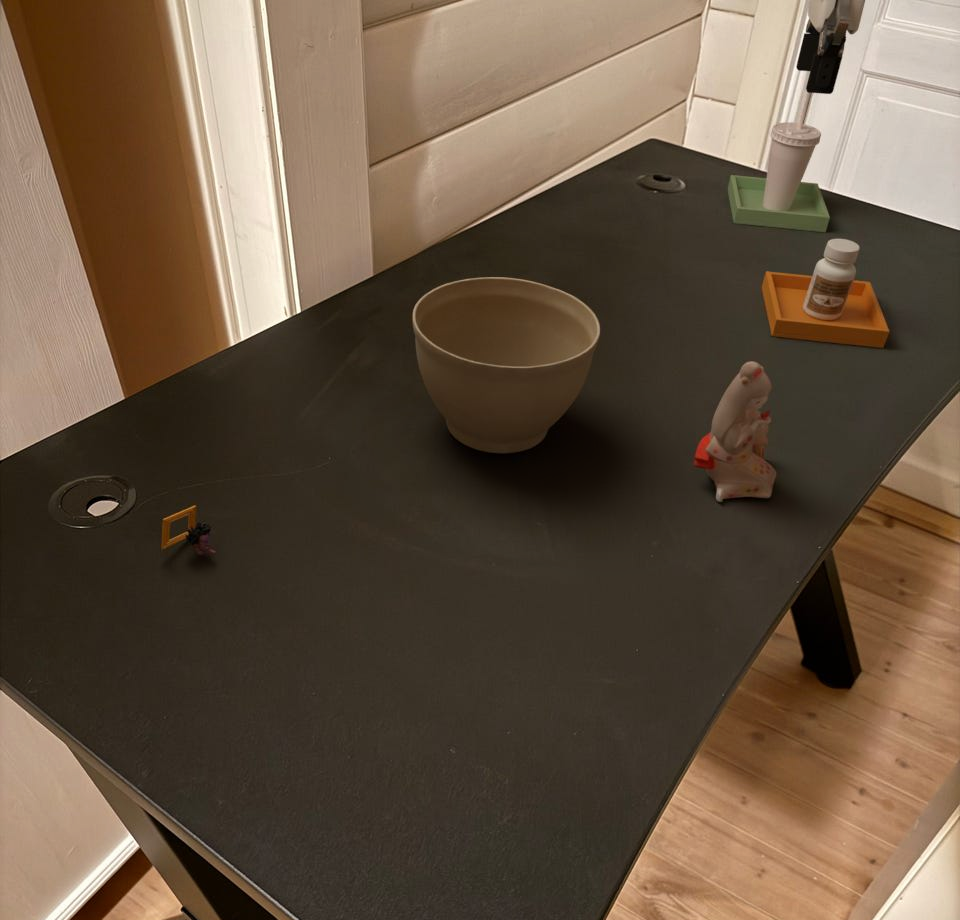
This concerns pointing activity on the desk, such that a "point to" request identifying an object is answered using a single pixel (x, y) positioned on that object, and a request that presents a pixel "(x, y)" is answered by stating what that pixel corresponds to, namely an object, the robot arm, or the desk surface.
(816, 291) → the pill bottle
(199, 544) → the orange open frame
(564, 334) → the planter bowl
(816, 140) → the smoothie
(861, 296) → the amber tray
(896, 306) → the desk surface
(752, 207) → the sage tray
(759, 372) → the figurine
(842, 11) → the robot arm
